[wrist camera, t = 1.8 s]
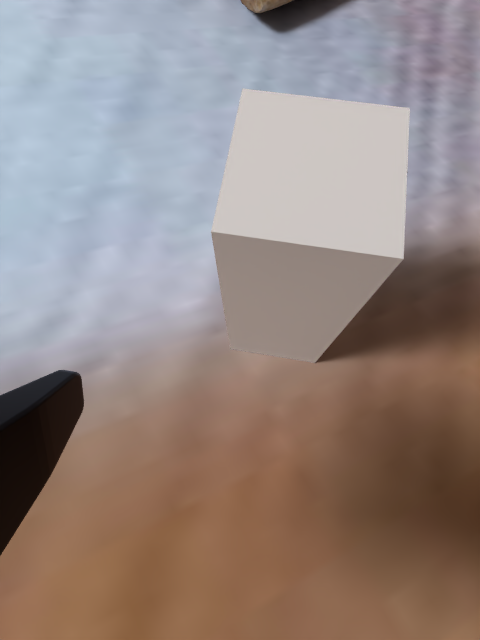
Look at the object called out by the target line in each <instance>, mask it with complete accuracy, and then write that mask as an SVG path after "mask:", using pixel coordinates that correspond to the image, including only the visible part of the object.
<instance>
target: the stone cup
mask: <svg viewBox="0 0 480 640" xmlns="http://www.w3.org/2000/svg"><path fill="white" fill-rule="evenodd" d="M291 1H293V0H241V2H242V3H243V4H244V5H245V6H246V7H247V8H248V9H249V10H251V11H253V12H255V13H262V12H265V11H269V10H272V9H274V8H277V7H279V6H282V5H284V4H286V3H289V2H291Z"/></svg>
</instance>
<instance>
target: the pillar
mask: <svg viewBox="0 0 480 640" xmlns="http://www.w3.org/2000/svg"><path fill="white" fill-rule="evenodd" d="M409 114H410V108H404V107H395V106H387V105H378V104H370V103H361V102H353V101H344V100H335V99H327V98H318V97H310V96H301V95H293V94H284V93H275V92H267V91H258V90H250V89H242V93H241V98H240V102H239V107H238V112H237V116H236V121H235V125H234V130H233V134H232V139H231V144H230V148H229V153H228V157H227V162H226V166H225V171H224V176H223V180H222V185H221V189H220V194H219V198H218V203H217V207H216V212H215V217H214V221H213V226H212V230H211V233H212V240H213V246H214V252H215V258H216V264H217V270H218V277H219V283H220V289H221V295H222V301H223V308H224V314H225V320H226V326H227V332H228V339H229V345H230V349H233V350H239V351H245V352H251V353H257V354H263V355H270V356H276V357H282V358H288V359H294V360H300V361H307V362H313V363H315V362H316V361H317V360H318V359H319V357H320V356H321V355H322V354H323V353H324V352H325V350H326V349H327V348H328V347H329V346H330V345H331V343H332V342H333V341H334V340H335V339H336V338H337V336H338V335H339V334H340V333H341V332H342V331H343V329H344V328H345V327H346V326H347V325H348V323H349V322H350V321H351V320H352V319H353V318H354V316H355V315H356V314H357V313H358V312H359V311H360V309H361V308H362V307H363V306H364V305H365V304H366V302H367V301H368V300H369V299H370V298H371V297H372V295H373V294H374V293H375V292H376V291H377V289H378V288H379V287H380V286H381V285H382V284H383V282H384V281H385V280H386V279H387V278H388V277H389V275H390V274H391V273H392V272H393V271H394V270H395V268H396V267H397V266H398V265H399V264H400V263H401V261H402V260H403V259H404V236H405V211H406V187H407V163H408V138H409Z"/></svg>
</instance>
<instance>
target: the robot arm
mask: <svg viewBox="0 0 480 640" xmlns="http://www.w3.org/2000/svg"><path fill="white" fill-rule="evenodd" d="M83 407H84V398H83V388H82V379H81V376H80V374H79V373H77V372H73V371H67V370H58V371H56V372H54V373H51V374H49V375H47V376H44V377H42V378H40V379H37V380H35V381H33V382H30V383H28V384H26V385H23V386H21V387H19V388H16V389H14V390H12V391H9V392H7V393H5V394H2V395H0V555H1V554H2V552H3V551H4V549H5V548H6V546H7V544H8V543H9V541H10V540H11V538H12V536H13V535H14V533H15V532H16V530H17V528H18V527H19V525H20V524H21V522H22V521H23V519H24V517H25V516H26V514H27V513H28V511H29V509H30V508H31V506H32V505H33V503H34V501H35V500H36V498H37V497H38V495H39V494H40V492H41V490H42V489H43V487H44V486H45V484H46V482H47V481H48V479H49V477H50V476H51V474H52V472H53V470H54V468H55V466H56V464H57V462H58V460H59V458H60V456H61V454H62V452H63V450H64V448H65V446H66V444H67V442H68V440H69V438H70V436H71V434H72V432H73V430H74V428H75V425H76V423H77V421H78V419H79V417H80V415H81V413H82V411H83Z"/></svg>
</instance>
